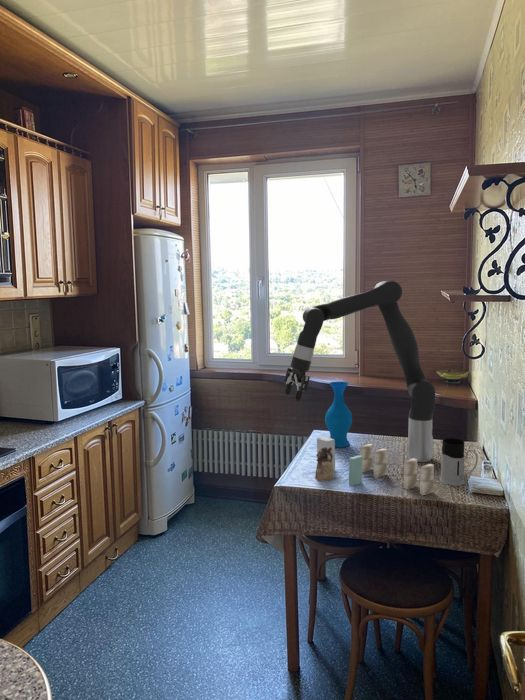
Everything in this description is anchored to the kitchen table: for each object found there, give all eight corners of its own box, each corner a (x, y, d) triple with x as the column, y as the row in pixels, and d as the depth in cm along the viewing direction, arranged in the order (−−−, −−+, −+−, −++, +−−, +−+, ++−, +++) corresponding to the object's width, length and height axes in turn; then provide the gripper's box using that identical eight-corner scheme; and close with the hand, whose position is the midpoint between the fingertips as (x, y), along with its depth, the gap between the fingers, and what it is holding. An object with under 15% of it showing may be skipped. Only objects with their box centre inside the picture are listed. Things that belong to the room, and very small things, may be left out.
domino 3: (382, 473, 201) (383, 448, 199) (386, 474, 199) (386, 449, 198) (373, 476, 198) (374, 450, 196) (377, 477, 196) (377, 451, 195)
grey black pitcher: (449, 474, 199) (450, 436, 197) (483, 486, 187) (485, 445, 185) (434, 479, 194) (435, 440, 192) (468, 492, 182) (470, 450, 180)
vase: (356, 442, 239) (357, 382, 235) (345, 450, 228) (346, 387, 224) (331, 439, 245) (331, 379, 241) (320, 446, 234) (320, 384, 230)
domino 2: (369, 468, 206) (369, 443, 205) (372, 469, 205) (372, 444, 204) (360, 471, 203) (360, 446, 202) (363, 472, 202) (363, 447, 201)
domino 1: (358, 481, 193) (359, 455, 192) (361, 482, 192) (362, 456, 190) (348, 484, 190) (349, 457, 189) (352, 486, 189) (352, 459, 188)
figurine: (319, 473, 202) (319, 442, 200) (337, 476, 198) (337, 445, 197) (312, 479, 196) (312, 448, 194) (330, 482, 192) (330, 450, 191)
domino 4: (412, 484, 189) (413, 458, 188) (416, 486, 188) (417, 459, 187) (403, 488, 186) (404, 461, 185) (407, 489, 185) (408, 462, 184)
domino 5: (429, 491, 184) (430, 463, 182) (432, 492, 182) (433, 464, 181) (419, 494, 181) (420, 466, 179) (423, 496, 180) (424, 468, 178)
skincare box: (335, 469, 206) (335, 439, 204) (327, 471, 203) (327, 441, 201) (324, 465, 210) (324, 435, 209) (316, 467, 208) (316, 437, 206)
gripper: (319, 363, 201) (308, 403, 203) (301, 355, 214) (291, 393, 216) (303, 359, 198) (292, 401, 200) (285, 352, 211) (275, 391, 212)
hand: (291, 397), depth 208 cm, fingers open, 8 cm apart
